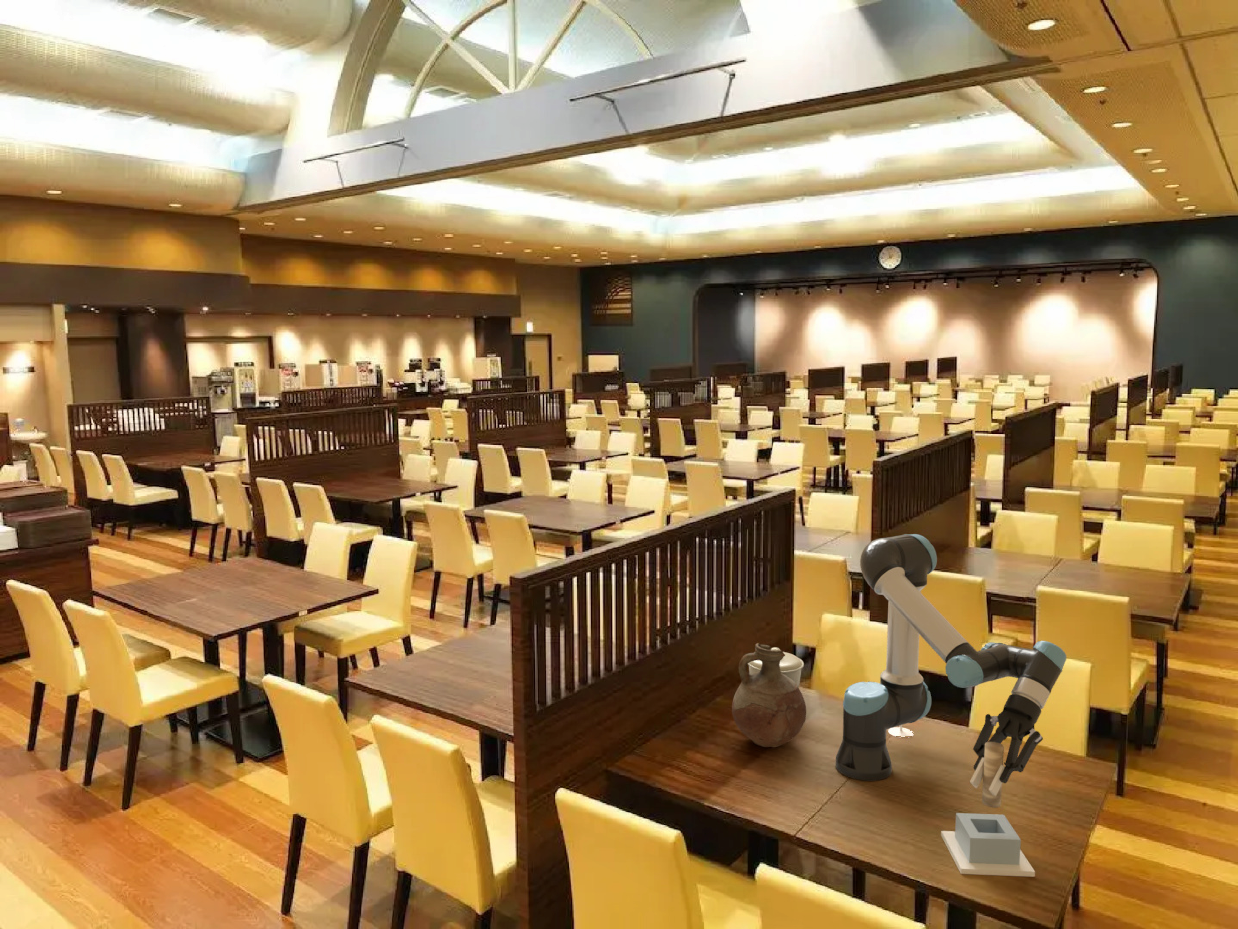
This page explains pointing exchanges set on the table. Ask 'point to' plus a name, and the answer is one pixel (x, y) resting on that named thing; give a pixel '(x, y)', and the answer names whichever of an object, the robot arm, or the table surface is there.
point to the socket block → (986, 846)
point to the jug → (768, 701)
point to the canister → (782, 666)
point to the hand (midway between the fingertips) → (982, 788)
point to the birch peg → (991, 773)
